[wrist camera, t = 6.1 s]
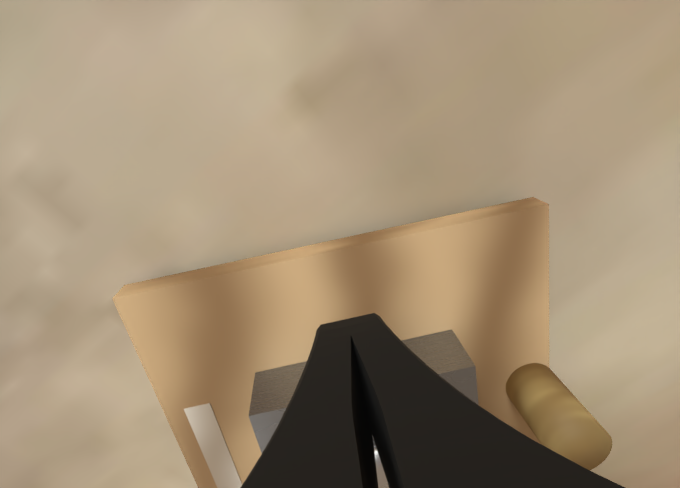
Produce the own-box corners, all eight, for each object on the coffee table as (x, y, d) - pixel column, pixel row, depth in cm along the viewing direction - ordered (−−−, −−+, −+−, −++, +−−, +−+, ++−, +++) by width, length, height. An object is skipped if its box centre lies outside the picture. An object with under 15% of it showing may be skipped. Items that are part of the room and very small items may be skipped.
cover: (452, 329, 18) (480, 374, 15) (466, 471, 22) (492, 530, 19) (255, 372, 18) (247, 425, 15) (300, 509, 21) (300, 574, 18)
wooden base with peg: (537, 196, 18) (627, 236, 13) (541, 484, 24) (602, 583, 19) (124, 284, 17) (56, 360, 12) (241, 553, 24) (227, 671, 19)
